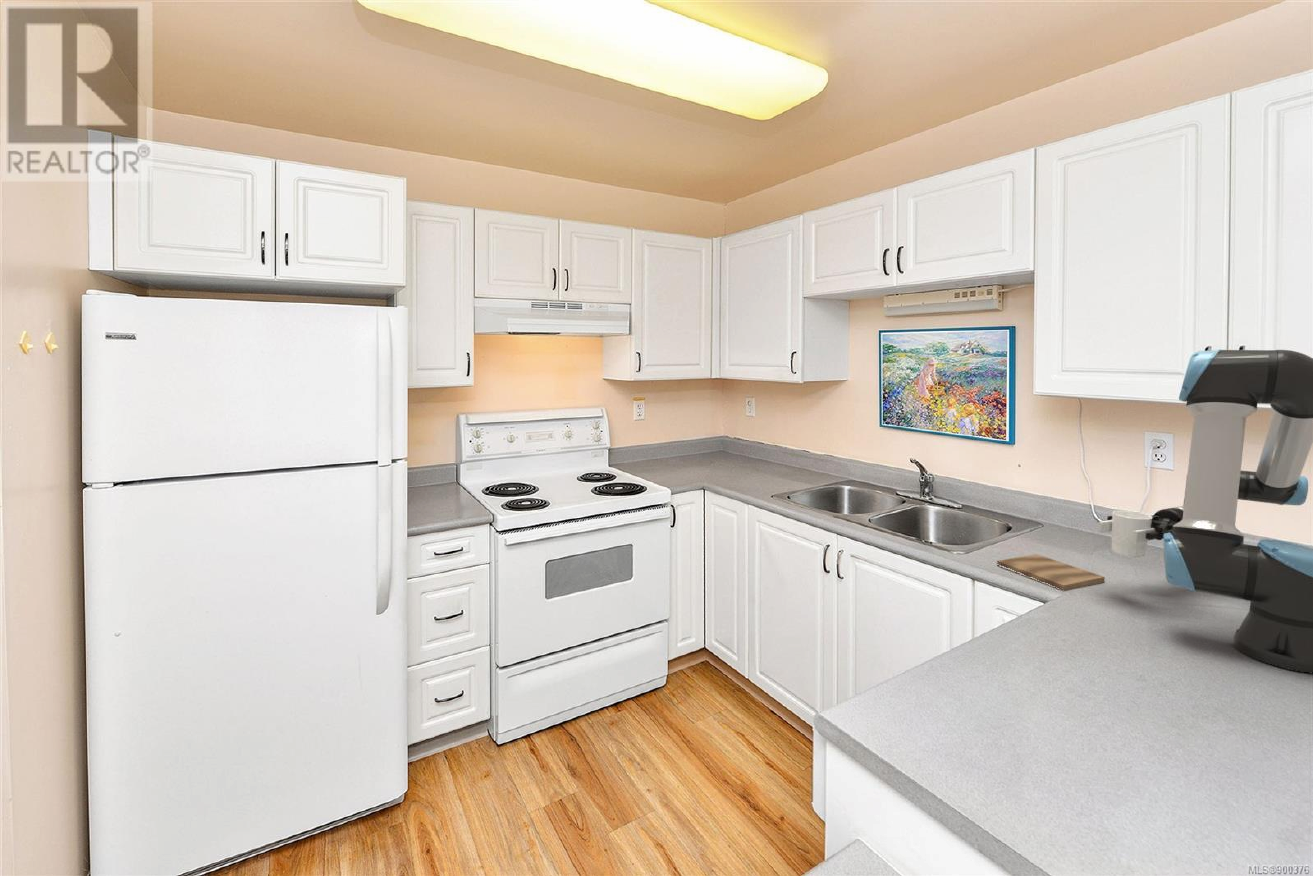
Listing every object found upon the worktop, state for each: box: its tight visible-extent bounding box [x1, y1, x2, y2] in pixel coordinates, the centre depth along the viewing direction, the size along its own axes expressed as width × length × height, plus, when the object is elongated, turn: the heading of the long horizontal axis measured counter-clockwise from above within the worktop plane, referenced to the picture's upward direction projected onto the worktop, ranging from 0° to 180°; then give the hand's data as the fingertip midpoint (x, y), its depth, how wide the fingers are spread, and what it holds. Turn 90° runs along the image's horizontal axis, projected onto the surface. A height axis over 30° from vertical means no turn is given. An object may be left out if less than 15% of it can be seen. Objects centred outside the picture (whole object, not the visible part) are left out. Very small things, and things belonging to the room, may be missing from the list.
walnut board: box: [996, 553, 1106, 591], centre depth 171 cm, size 20×16×2 cm
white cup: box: [1110, 509, 1153, 558], centre depth 152 cm, size 8×8×10 cm
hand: (1117, 531), depth 150 cm, fingers closed on white cup, 8 cm apart
